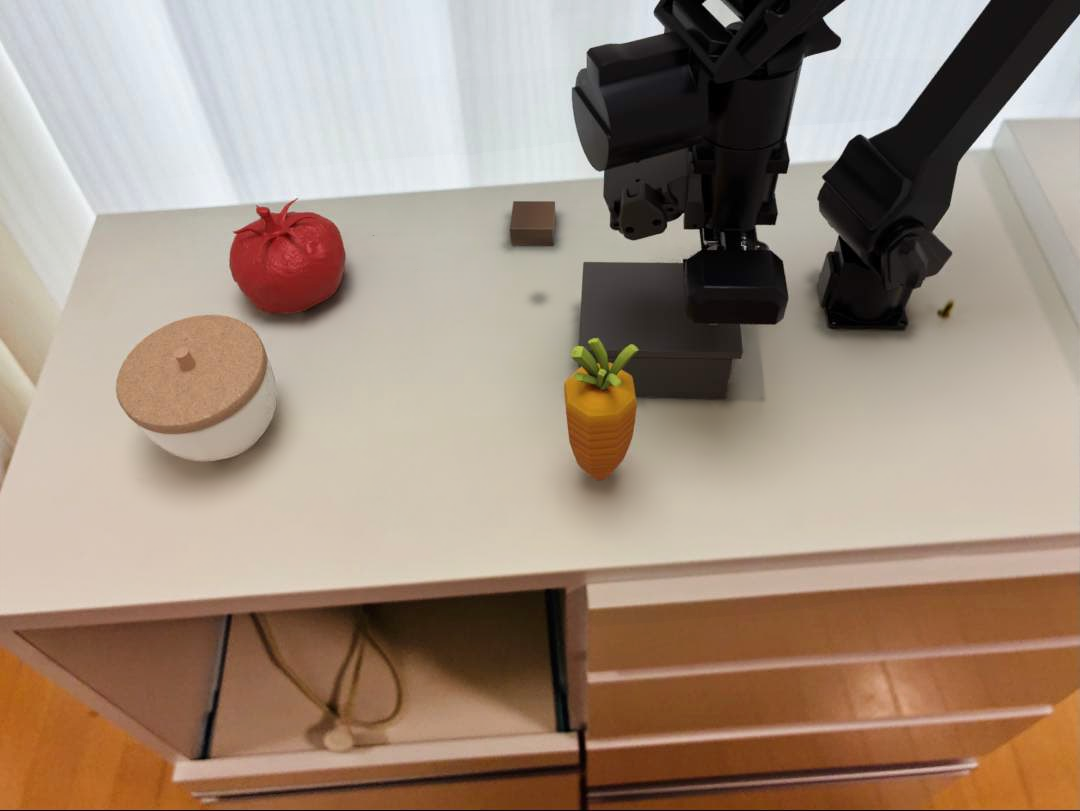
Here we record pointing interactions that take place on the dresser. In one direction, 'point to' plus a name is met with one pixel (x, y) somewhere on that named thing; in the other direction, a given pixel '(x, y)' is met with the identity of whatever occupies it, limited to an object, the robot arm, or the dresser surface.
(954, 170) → the robot arm
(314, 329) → the dresser surface
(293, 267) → the red tomato
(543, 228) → the walnut block
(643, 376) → the box
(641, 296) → the box lid
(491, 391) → the dresser surface
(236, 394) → the trinket box
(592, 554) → the dresser surface
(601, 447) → the carrot
